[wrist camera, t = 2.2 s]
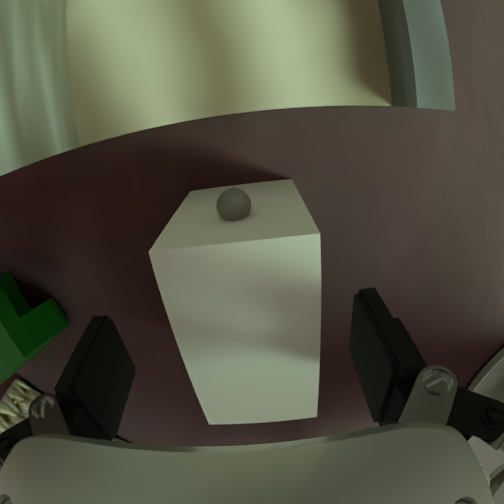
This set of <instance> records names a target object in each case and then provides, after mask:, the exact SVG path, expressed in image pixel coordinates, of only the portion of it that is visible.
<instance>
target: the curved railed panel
mask: <svg viewBox="0 0 504 504" xmlns="http://www.w3.org/2000/svg"><path fill="white" fill-rule="evenodd" d="M349 105H364V106H399V107H416V108H429V109H440V110H450V111H455V99H454V85H453V75H452V66H451V58H450V50H449V44H448V38H447V32H446V26H445V21H444V16H443V12H442V7H441V3H440V0H0V176H2V175H4V174H7V173H9V172H11V171H14V170H16V169H19V168H21V167H24V166H26V165H29V164H32V163H34V162H37V161H40V160H43V159H45V158H48V157H51V156H54V155H57V154H60V153H63V152H66V151H69V150H72V149H75V148H78V147H82V146H85V145H88V144H92V143H95V142H98V141H102V140H106V139H109V138H113V137H117V136H120V135H124V134H128V133H132V132H137V131H141V130H145V129H150V128H154V127H159V126H163V125H168V124H173V123H178V122H184V121H189V120H195V119H201V118H207V117H213V116H220V115H227V114H235V113H242V112H251V111H260V110H270V109H282V108H296V107H313V106H349Z"/></svg>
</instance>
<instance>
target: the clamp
mask: <svg viewBox="0 0 504 504" xmlns="http://www.w3.org/2000/svg"><path fill="white" fill-rule="evenodd" d="M69 325H70V322H69V321H68V319H67V318H66V316H65V315H64V313H63V312H62V310H61V309H60V307H59V306H58V304H57V303H56V301H55V300H54V298H52V299H50V300H48V301H46V302H45V303H43V304H41V305H39V306H38V307H36V308H34V309H33V310H32V309H31V307H30V306H29V304H28V303H27V301H26V299H25V298H24V296H23V294H22V293H21V291H20V289H19V287H18V286H17V284H16V282H15V280H14V279H13V277H12V275H11V274H10V273H9V271H8V272H6V273H4V274H1V275H0V385H1V384H2V383H3V382H4V381H6V380H7V379H8V378H9V377H11V376H12V375H13V374H14V373H16V372H17V371H18V370H19V369H20V368H22V367H23V366H24V365H25V364H26V363H27V362H29V361H30V360H31V359H32V358H33V357H34V356H35V355H36V354H37V353H38V352H39V351H41V350H42V349H43V348H44V347H45V346H46V345H47V344H48V343H49V342H51V341H52V340H53V339H54V338H55V337H56V336H57V335H58V334H60V333H61V332H62V331H63V330H64V329H65V328H66V327H68V326H69Z"/></svg>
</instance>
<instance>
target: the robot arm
mask: <svg viewBox="0 0 504 504" xmlns="http://www.w3.org/2000/svg"><path fill="white" fill-rule="evenodd" d="M349 351H350V355H351V358H352V361H353V364H354V366H355V369H356V372H357V375H358V378H359V380H360V383H361V386H362V389H363V392H364V395H365V398H366V401H367V403H368V406H369V409H370V412H371V415H372V418H373V421H374V422H379V425H380V426H378V427H373V428H367V429H362V430H357V431H352V432H347V433H341V434H336V435H330V436H323V437H317V438H311V439H304V440H296V441H288V442H279V443H268V444H256V445H240V446H208V447H194V446H162V445H146V444H134V443H124V442H116V441H112V439H113V438H115V437H116V435H117V432H118V428H119V425H120V421H121V418H122V414H123V411H124V407H125V404H126V401H127V397H128V394H129V391H130V388H131V384H132V381H133V378H134V375H135V366H134V364H133V362H132V360H131V358H130V356H129V354H128V352H127V350H126V347H125V345H124V343H123V341H122V339H121V337H120V335H119V333H118V330H117V328H116V326H115V324H114V322H113V320H112V319H109V317H108V316H94V317H93V318H92V319H91V321H90V323H89V325H88V326H87V328H86V330H85V332H84V333H83V335H82V337H81V339H80V341H79V342H78V344H77V346H76V348H75V350H74V352H73V354H72V355H71V357H70V359H69V361H68V363H67V365H66V367H65V369H64V371H63V373H62V375H61V377H60V379H59V381H58V383H57V385H56V387H55V389H54V390H55V391H56V394H55V396H54V395H53V394H49V393H44V394H41V395H39V396H37V397H36V398H35V399H34V400H33V401H32V402H31V404H30V405H29V409H28V415H29V417H28V418H26V419H25V420H23V421H21V422H19V423H18V424H16V425H14V426H12V427H11V428H9V429H7V430H5V431H4V432H2V433H1V434H0V504H504V348H503V349H501V350H500V351H499V352H498V353H497V354H496V355H495V356H494V357H493V358H492V359H491V360H490V361H489V362H488V363H487V364H486V365H485V366H484V367H483V369H482V370H481V371H480V372H479V373H478V375H477V376H476V377H475V378H474V380H473V381H472V383H471V384H470V386H469V387H468V389H464V388H461V387H458V386H457V379H456V376H455V375H454V373H453V372H452V371H450V370H449V369H448V368H446V367H443V366H438V365H433V366H428V367H427V365H426V363H425V361H424V360H423V358H422V356H421V354H420V353H419V351H418V349H417V347H416V346H415V344H414V342H413V341H412V339H411V337H410V335H409V334H408V332H407V330H406V329H405V327H404V325H403V324H402V322H401V321H400V320H399V319H398V318H394V319H393V317H392V315H391V314H390V312H389V310H388V309H387V307H386V305H385V304H384V302H383V300H382V299H381V297H380V296H379V294H378V292H377V291H376V289H375V288H367V289H360V290H359V292H358V294H355V295H354V302H353V314H352V324H351V334H350V343H349ZM480 464H482V466H481V465H480ZM482 469H484V470H485V471H486V472H487V473H488V474H489V477H490V480H491V481H490V487H489V485H488V482H487V479H486V477H485V474H484V472H483V470H482Z"/></svg>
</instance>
